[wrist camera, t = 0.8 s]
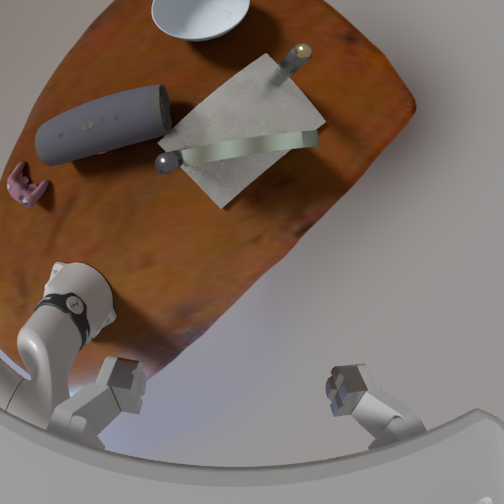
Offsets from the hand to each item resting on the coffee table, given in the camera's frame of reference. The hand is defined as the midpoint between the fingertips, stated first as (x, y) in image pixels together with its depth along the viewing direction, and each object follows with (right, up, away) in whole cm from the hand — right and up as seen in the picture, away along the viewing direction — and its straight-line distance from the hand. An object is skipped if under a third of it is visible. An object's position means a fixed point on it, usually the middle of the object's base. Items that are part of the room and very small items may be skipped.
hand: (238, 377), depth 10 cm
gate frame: (-1, +26, +32) cm, 41 cm away
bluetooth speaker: (-24, +27, +30) cm, 47 cm away
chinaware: (-8, +46, +23) cm, 52 cm away
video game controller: (-45, +20, +31) cm, 58 cm away
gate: (-1, +23, +32) cm, 39 cm away
